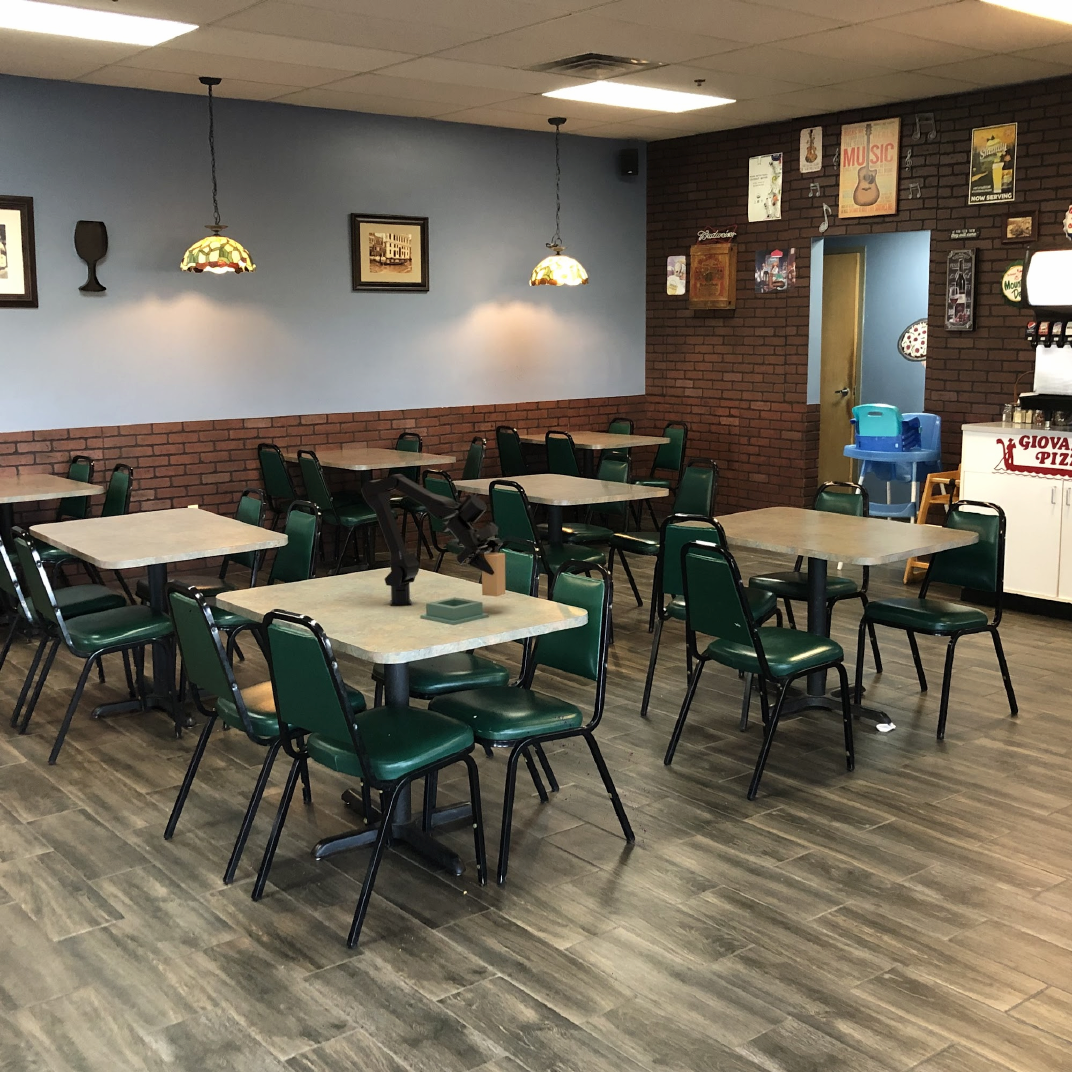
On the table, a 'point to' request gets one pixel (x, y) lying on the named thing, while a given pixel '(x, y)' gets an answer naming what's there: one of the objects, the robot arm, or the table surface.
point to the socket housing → (454, 611)
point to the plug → (494, 575)
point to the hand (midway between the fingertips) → (497, 572)
